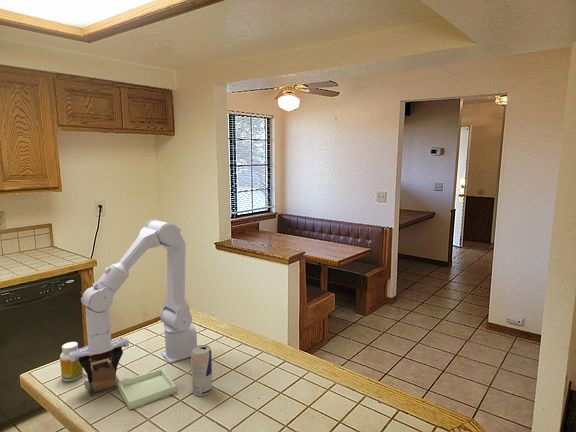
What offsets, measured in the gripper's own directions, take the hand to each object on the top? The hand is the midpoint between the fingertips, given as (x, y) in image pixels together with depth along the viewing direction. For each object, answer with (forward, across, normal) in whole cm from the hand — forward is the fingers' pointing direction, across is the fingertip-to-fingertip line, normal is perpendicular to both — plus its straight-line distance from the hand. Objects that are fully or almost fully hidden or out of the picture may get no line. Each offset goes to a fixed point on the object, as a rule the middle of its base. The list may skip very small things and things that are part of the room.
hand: (102, 377), depth 108 cm
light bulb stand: (+2, 0, 0) cm, 2 cm away
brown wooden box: (+2, 0, 0) cm, 2 cm away
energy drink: (+3, -21, +19) cm, 28 cm away
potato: (+3, -3, -16) cm, 16 cm away
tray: (+2, -9, +10) cm, 14 cm away
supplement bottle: (+3, +6, -10) cm, 12 cm away
